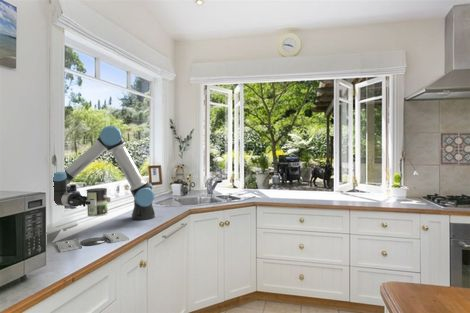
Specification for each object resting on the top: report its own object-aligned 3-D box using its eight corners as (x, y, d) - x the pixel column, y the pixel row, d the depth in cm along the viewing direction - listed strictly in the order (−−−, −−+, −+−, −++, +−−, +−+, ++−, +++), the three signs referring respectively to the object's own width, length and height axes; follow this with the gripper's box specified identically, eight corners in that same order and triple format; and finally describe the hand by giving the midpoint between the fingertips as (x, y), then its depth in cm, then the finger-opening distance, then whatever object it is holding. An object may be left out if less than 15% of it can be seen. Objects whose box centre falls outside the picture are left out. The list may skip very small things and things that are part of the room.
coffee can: (108, 212, 180) (107, 187, 180) (106, 215, 170) (105, 189, 170) (88, 213, 177) (88, 188, 177) (85, 217, 167) (84, 190, 167)
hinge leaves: (120, 233, 173) (120, 231, 173) (128, 239, 161) (128, 236, 161) (55, 244, 154) (55, 241, 154) (60, 251, 143) (60, 248, 143)
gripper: (88, 202, 191) (117, 204, 183) (55, 210, 169) (87, 212, 162) (87, 190, 190) (117, 191, 183) (54, 196, 169) (86, 197, 161)
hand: (103, 201), depth 172 cm, fingers closed on coffee can, 10 cm apart
